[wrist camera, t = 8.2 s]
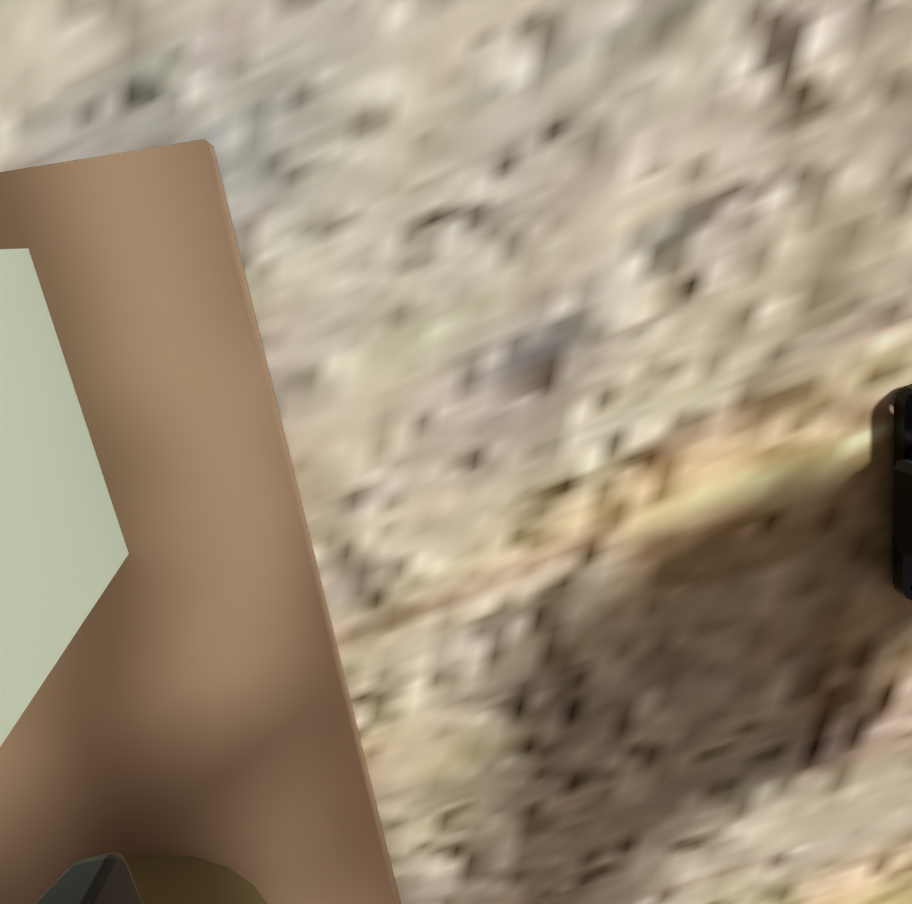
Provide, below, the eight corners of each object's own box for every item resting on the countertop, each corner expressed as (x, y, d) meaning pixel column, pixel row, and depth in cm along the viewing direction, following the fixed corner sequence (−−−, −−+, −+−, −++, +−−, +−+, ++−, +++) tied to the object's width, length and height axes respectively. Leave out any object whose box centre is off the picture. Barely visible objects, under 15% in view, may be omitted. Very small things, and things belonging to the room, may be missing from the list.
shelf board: (213, 146, 17) (184, 125, 13) (435, 1043, 25) (448, 1155, 22) (-322, 233, 15) (-484, 233, 12) (96, 1139, 24) (60, 1272, 21)
